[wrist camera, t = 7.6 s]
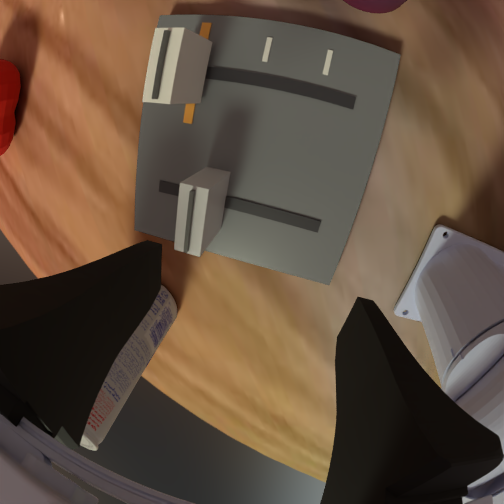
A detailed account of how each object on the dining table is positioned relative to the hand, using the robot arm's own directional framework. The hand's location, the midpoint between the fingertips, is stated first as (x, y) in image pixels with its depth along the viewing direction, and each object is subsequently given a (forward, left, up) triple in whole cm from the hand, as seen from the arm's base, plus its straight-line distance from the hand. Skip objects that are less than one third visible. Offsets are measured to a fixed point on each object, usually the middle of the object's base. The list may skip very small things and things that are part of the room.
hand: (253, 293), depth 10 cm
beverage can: (+9, +12, -11) cm, 19 cm away
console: (+3, -3, -10) cm, 11 cm away
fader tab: (+7, -7, -9) cm, 14 cm away
